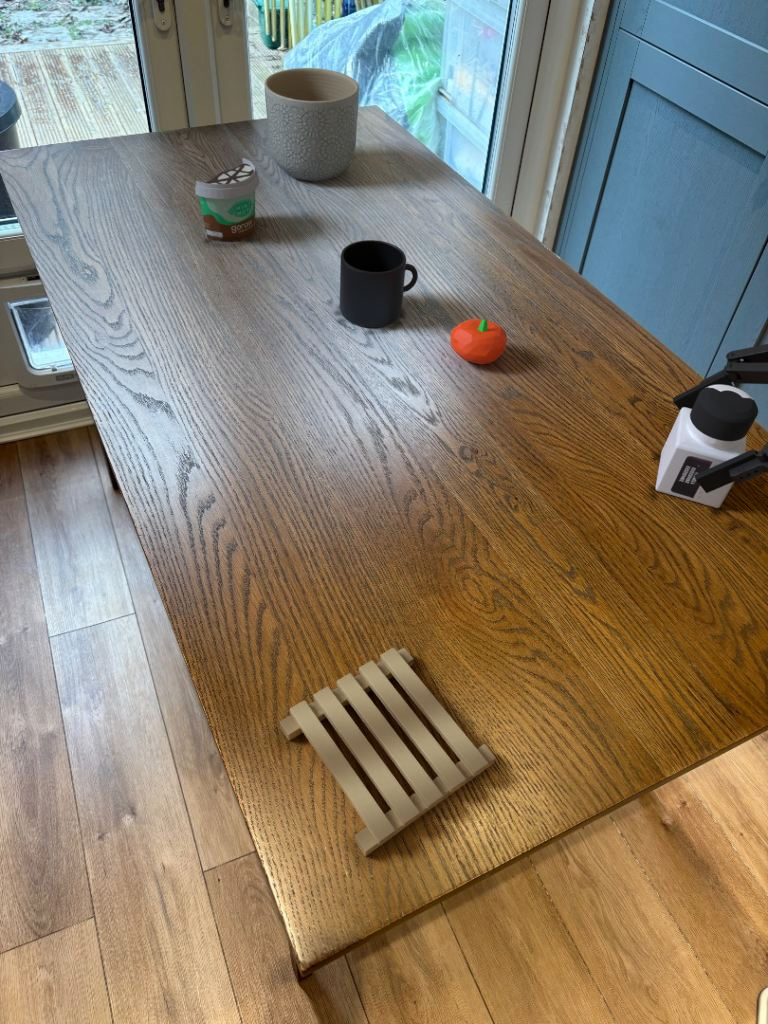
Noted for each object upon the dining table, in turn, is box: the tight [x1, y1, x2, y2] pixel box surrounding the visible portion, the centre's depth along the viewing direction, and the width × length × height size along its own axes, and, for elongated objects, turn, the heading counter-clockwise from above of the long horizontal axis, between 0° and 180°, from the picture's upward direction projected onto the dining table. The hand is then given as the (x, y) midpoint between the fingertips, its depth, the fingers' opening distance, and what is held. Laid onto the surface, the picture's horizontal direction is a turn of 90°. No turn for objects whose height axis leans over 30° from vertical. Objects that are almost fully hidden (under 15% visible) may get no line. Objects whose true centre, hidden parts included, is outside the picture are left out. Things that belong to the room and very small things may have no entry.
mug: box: [339, 239, 419, 328], centre depth 111 cm, size 9×12×9 cm
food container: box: [194, 157, 260, 243], centre depth 124 cm, size 12×6×10 cm, turn 147°
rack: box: [279, 647, 497, 857], centre depth 67 cm, size 14×14×2 cm
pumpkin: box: [449, 318, 508, 365], centre depth 105 cm, size 7×8×6 cm
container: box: [655, 385, 759, 509], centre depth 88 cm, size 8×8×13 cm
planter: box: [264, 67, 360, 182], centre depth 140 cm, size 17×17×15 cm
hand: (688, 443), depth 89 cm, fingers open, 13 cm apart
